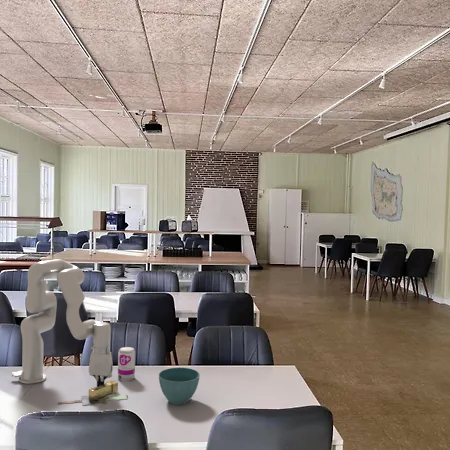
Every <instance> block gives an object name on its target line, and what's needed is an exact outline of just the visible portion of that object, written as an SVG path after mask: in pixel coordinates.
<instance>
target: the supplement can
mask: <svg viewBox="0 0 450 450" xmlns="http://www.w3.org/2000/svg"><path fill="white" fill-rule="evenodd" d="M117 359H118V360H117V362H118V363H117V378H118V380H120V381H123V382H130V381H132V380H133V379H134V378H135V377H136V375H135V373H136V370H135V369H136V351H135V348H134V347H131V346H122V347H120V348H119V350H118V355H117Z"/></svg>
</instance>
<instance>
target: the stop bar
mask: <svg viewBox="0 0 450 450" xmlns="http://www.w3.org/2000/svg"><path fill="white" fill-rule="evenodd" d="M118 390H119V382H117V381H115V380H112V379H111V380H109V381H106V382H104V384H102V385H100V386H98V387H97V386H95V387H90V388H89V389H88V395H89V397H88V399H89V400H91V401H95V400H98V399H99V398H100V397H103V396H108V395H111V394H112V393H116V392H118Z"/></svg>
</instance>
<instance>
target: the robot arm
mask: <svg viewBox="0 0 450 450" xmlns="http://www.w3.org/2000/svg"><path fill="white" fill-rule="evenodd" d="M51 278H56V281H57V284H58V286H59V289H60V291H61V294H62V295H63V298H64V300H65V303H66V305H67V306H66V310H65V311H66V313H65V316H66V317H65V319H66V324H67V326H68V329H69V331H70V333H71V335H72V337H74V339H76V340H79V341H81V340H83V341H84V340H86V339H88V338H91V337H93V341H92V342H93V345H91V346H90V350H92V351H91V353H90V356H89V357H90V358H89V365H88V373H89V376H91V377H93V378H94V379H95V381H96V387H98V386H100V385H102V384H105V380H106V379H110V378H112V377H113V374H112V373H113V367H114V366H113V355H112V352H111V324H110V323H109V322H106V321H103V322H102V321H99V320H96V319H92V318H91V319H88V320H84V321H82V320H81V317H80V308H81V305H82V303H83V302H84V301H85V294H84V292H83V290H82V288H81V284H82V283H83V282H84V281H85V279H86V278H85V273H84V271H83V270H82V269H81V268H79V267H78V266H76V265H75V264H72V263H70V262H68V261H66V260H64V259H59V258H56V259H50V260H42V261H38V262H35V263H33V264H32V265H31V266H30V267H29V268H28V270H27V288H26V297H25V299H26V300H25V308H26V311H27V312H28V313H30V314H32V315H29V316H27V317H25V318H23V320H22V321H21V323H20V333H21V338H22V347H21V348H22V350H21V351H22V352H21V353H22V356H21V357H22V361H21V362H22V363H21V365H22V366H21V367H22V368H21V370H19V371H12V372H11V377H14V378H18V382H19V383H21V384H27V385H28V384H29V385H30V384H31V385H32V384H38V383H39V384H40V383H41V382H43V381H45V380H46V379H47V375H46V374H45V373H44V340H43V338H42V335H41V334H42V333H44V332H48V331H49V330H52V329H53V327H54V326H55V325H56V324H55V323H56V318H57V306H58V305H57V304H58V300H57V297H56V294H55V293H54V292H52V291H50V290H47V283H46V279H51Z"/></svg>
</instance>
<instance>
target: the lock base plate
mask: <svg viewBox="0 0 450 450" xmlns="http://www.w3.org/2000/svg"><path fill="white" fill-rule="evenodd" d="M105 396H106V395H105ZM105 396H103V397H100V398H99V399H98V400H95V401H91V400H89V399H88V397H89V394H87V395H81V396H80V398H81V399H80V400H82V402H81V404H82V406H93V405H101V404H107V400H105Z"/></svg>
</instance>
